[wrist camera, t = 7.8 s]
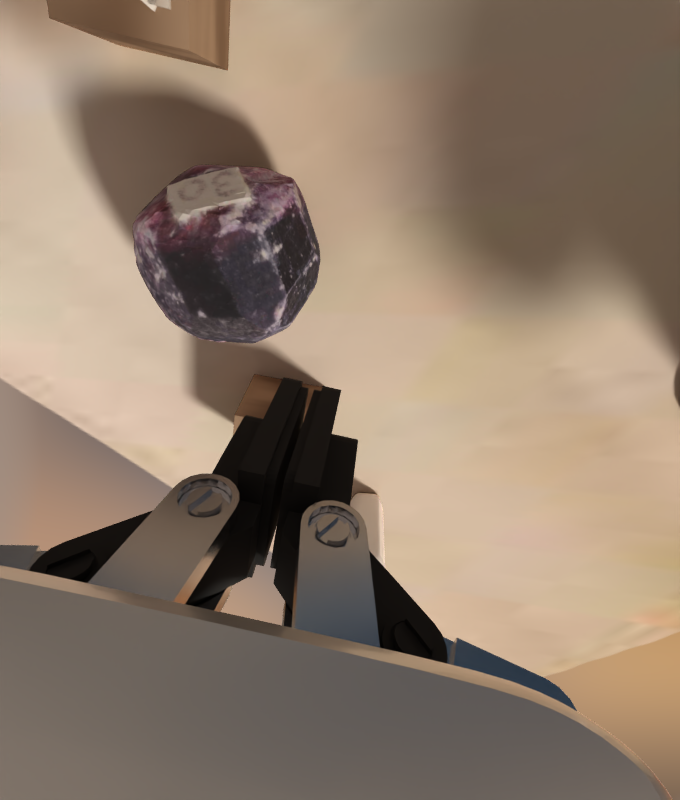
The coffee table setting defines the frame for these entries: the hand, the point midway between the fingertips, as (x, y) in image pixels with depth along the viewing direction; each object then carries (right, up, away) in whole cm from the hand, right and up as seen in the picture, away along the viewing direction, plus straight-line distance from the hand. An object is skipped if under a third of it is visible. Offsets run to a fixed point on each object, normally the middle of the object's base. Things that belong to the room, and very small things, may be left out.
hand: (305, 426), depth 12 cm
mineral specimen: (-5, +11, +16) cm, 20 cm away
